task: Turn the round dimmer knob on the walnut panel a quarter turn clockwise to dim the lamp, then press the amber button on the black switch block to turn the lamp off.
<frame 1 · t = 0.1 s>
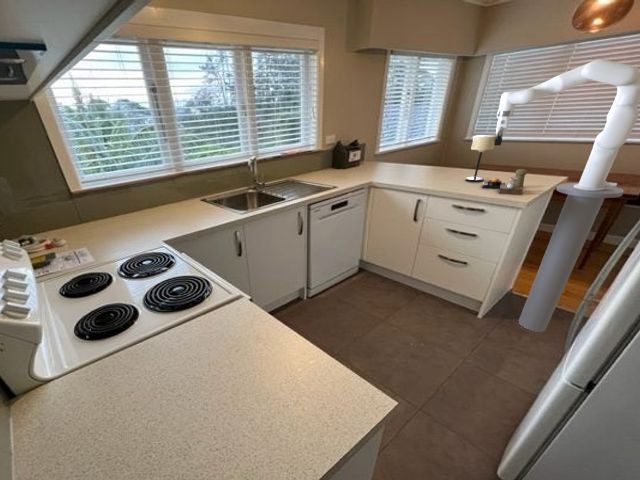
hand: (497, 144, 186), 25 cm above the worktop, tool pointing down, fingers open, 9 cm apart
dimmer knob: (512, 182, 173), point 6 cm above the worktop, hinge at 0.0°
olive upright piece: (516, 187, 183), on the worktop
dimmer panel: (509, 192, 176), on the worktop
lamp button: (495, 180, 186), point 4 cm above the worktop, slide at 0.1 cm
lamp: (474, 180, 205), on the worktop
switch block: (493, 187, 188), on the worktop
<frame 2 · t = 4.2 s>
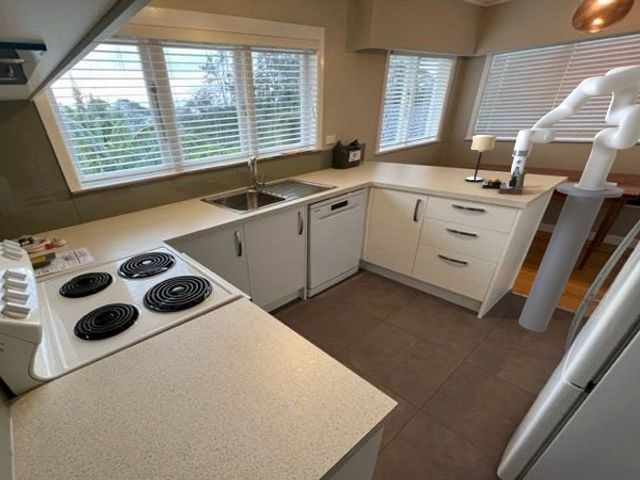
hand: (511, 185, 174), 4 cm above the worktop, tool pointing down, fingers closed on dimmer knob, 4 cm apart
dimmer knob: (512, 182, 173), point 6 cm above the worktop, hinge at 0.1°, touching gripper
everything else where it was.
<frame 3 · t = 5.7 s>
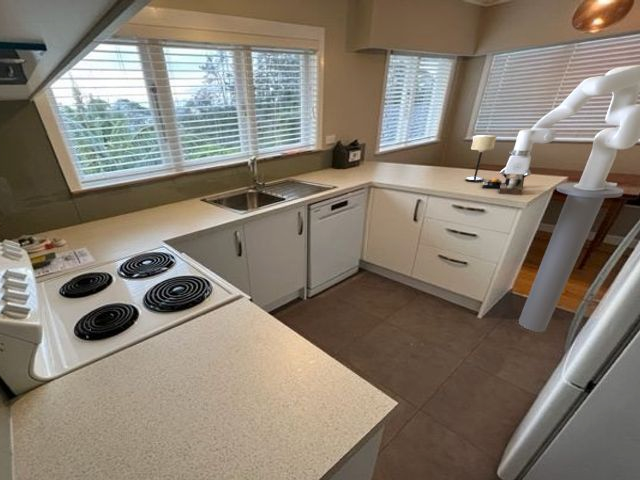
hand: (511, 185, 174), 4 cm above the worktop, tool pointing down, fingers closed on dimmer knob, 4 cm apart
dimmer knob: (512, 182, 173), point 6 cm above the worktop, hinge at -91.2°, touching gripper
everything else where it was.
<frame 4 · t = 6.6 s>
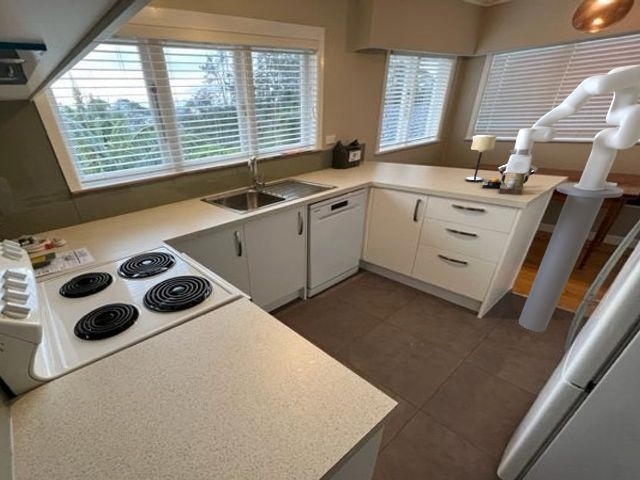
hand: (513, 182, 173), 6 cm above the worktop, tool pointing down, fingers open, 9 cm apart
dimmer knob: (512, 182, 173), point 6 cm above the worktop, hinge at -91.6°
everything else where it was.
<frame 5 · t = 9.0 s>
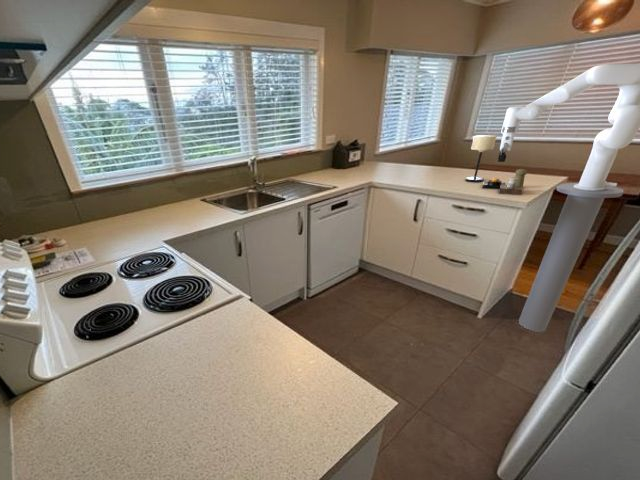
hand: (501, 160, 180), 17 cm above the worktop, tool pointing down, fingers open, 9 cm apart
nothing on the worktop moved.
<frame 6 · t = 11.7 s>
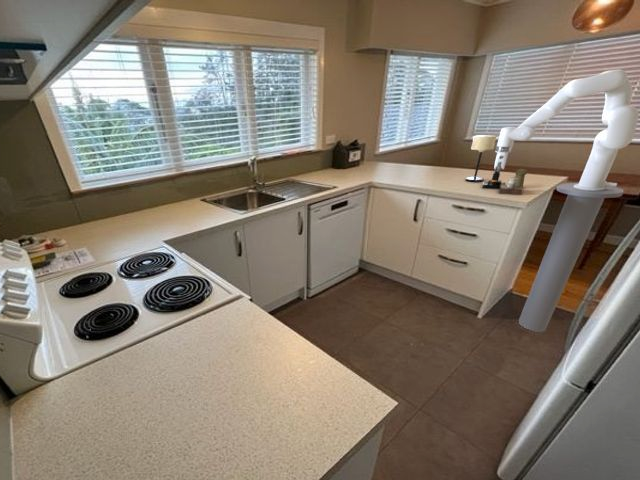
hand: (494, 179, 186), 5 cm above the worktop, tool pointing down, fingers closed
lamp button: (494, 181, 186), point 4 cm above the worktop, slide at -0.7 cm, touching gripper
everything else where it was.
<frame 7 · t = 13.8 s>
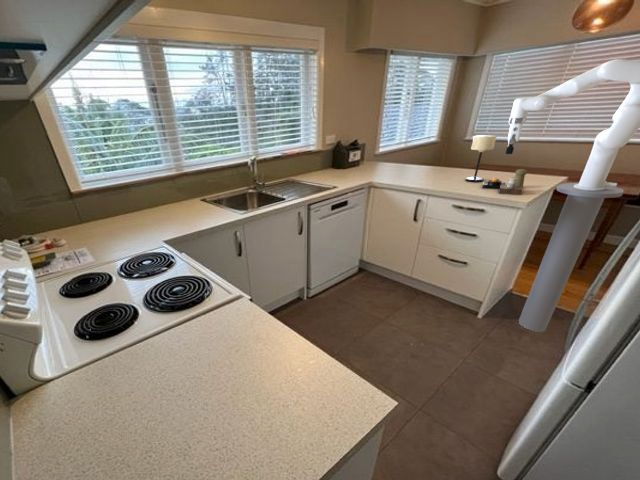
hand: (508, 153, 181), 20 cm above the worktop, tool pointing down, fingers closed
lamp button: (495, 180, 186), point 4 cm above the worktop, slide at 0.1 cm
everything else where it was.
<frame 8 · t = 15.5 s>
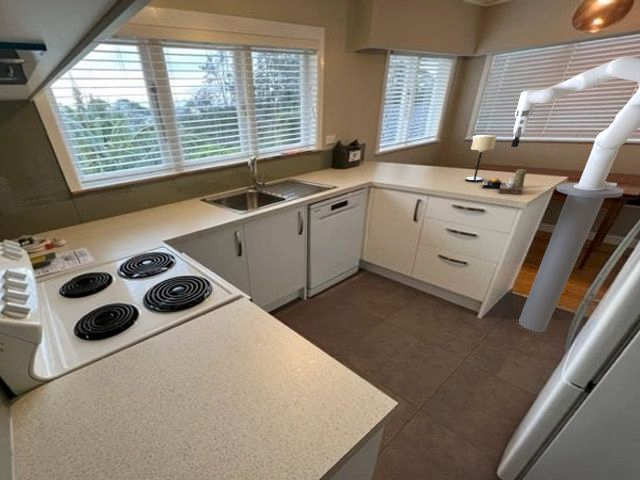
hand: (514, 146, 182), 23 cm above the worktop, tool pointing down, fingers closed
nothing on the worktop moved.
at the end: dimmer knob at -92° (first picture: +0°); lamp button pushed in 1.1 cm at the most during the clip, back to where it started at the end; lamp button slide at 0.1 cm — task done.
